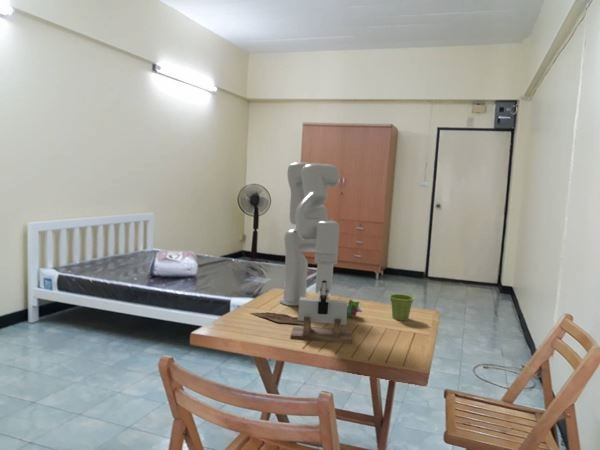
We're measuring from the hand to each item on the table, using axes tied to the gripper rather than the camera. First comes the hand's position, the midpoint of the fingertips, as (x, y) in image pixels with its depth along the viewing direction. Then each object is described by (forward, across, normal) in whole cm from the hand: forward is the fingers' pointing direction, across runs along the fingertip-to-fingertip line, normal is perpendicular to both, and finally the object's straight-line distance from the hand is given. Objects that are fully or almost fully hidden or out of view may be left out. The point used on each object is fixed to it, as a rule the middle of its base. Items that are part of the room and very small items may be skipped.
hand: (322, 310), depth 160 cm
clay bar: (+4, 0, 0) cm, 4 cm away
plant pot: (+9, -29, +30) cm, 43 cm away
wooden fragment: (+9, -16, -16) cm, 24 cm away
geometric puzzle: (+9, -26, +11) cm, 30 cm away
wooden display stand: (+9, 0, 0) cm, 9 cm away
